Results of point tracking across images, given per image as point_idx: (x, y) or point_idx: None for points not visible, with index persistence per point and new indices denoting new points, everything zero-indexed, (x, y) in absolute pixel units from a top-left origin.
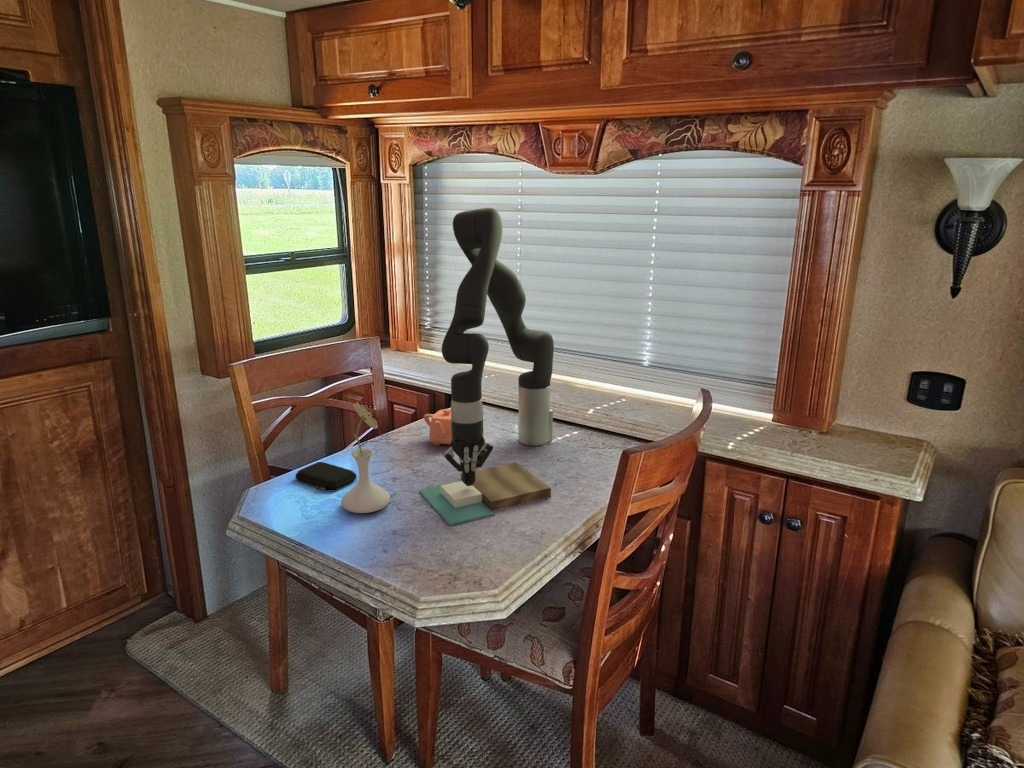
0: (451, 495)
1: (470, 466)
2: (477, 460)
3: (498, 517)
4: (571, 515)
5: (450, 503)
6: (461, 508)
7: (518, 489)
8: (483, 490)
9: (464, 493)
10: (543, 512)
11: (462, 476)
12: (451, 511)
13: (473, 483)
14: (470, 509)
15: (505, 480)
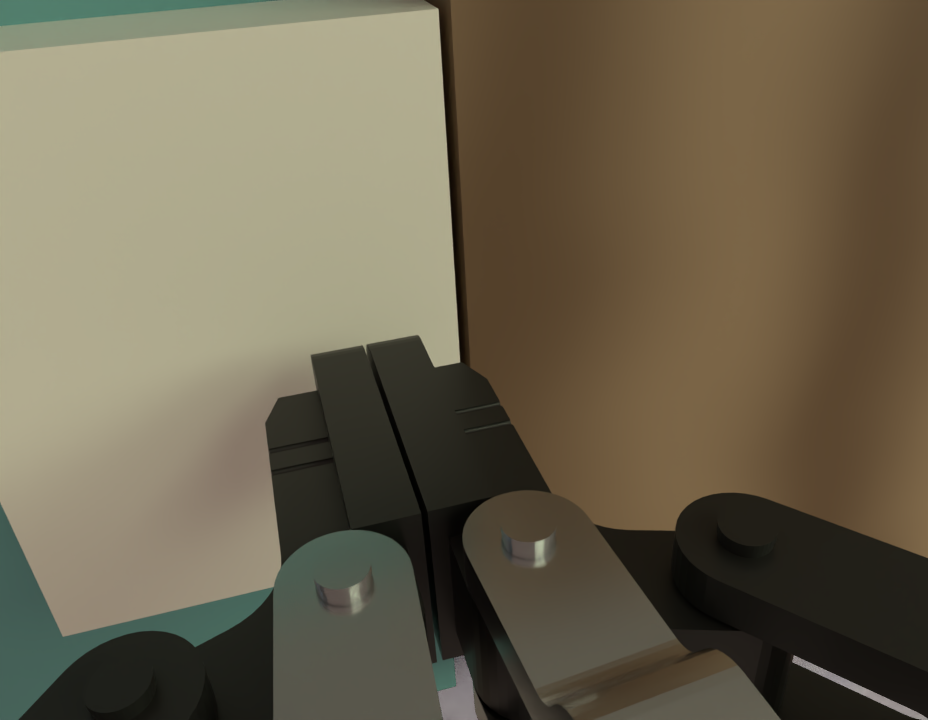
0: (25, 512)
1: (504, 693)
2: (772, 649)
3: (469, 697)
4: (904, 706)
5: None
6: None
7: (864, 514)
8: None
9: (247, 490)
10: (799, 662)
11: (277, 500)
12: (16, 621)
13: (493, 204)
14: (258, 603)
15: (918, 256)
